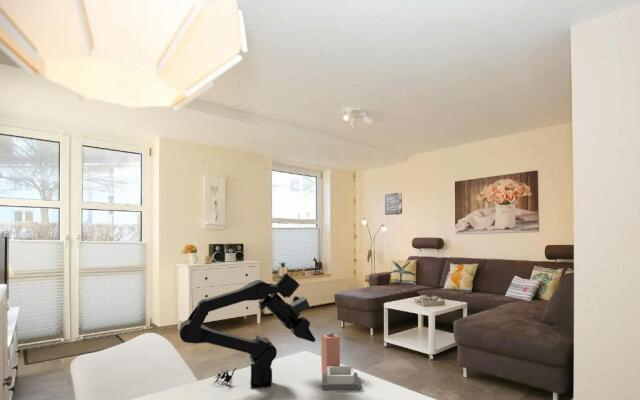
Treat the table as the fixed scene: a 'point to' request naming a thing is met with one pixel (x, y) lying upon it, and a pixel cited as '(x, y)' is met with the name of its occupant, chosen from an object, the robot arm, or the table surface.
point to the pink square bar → (330, 350)
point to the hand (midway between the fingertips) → (310, 337)
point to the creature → (224, 376)
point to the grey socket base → (340, 378)
